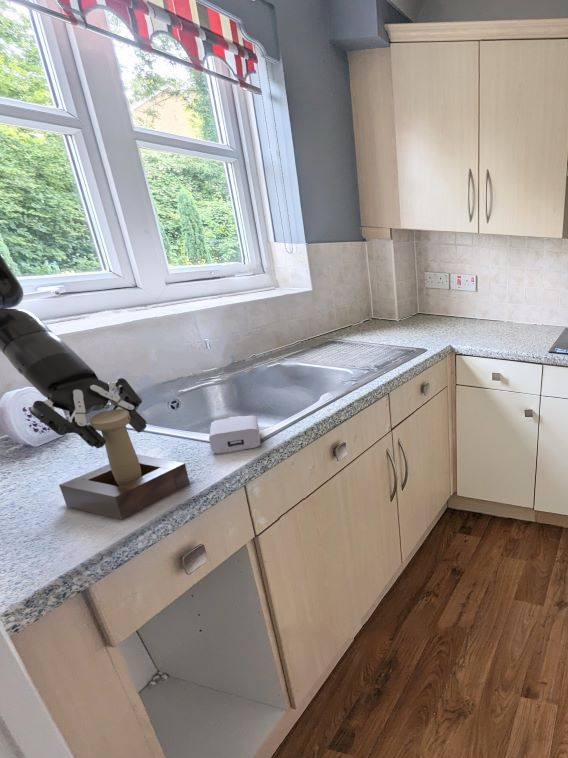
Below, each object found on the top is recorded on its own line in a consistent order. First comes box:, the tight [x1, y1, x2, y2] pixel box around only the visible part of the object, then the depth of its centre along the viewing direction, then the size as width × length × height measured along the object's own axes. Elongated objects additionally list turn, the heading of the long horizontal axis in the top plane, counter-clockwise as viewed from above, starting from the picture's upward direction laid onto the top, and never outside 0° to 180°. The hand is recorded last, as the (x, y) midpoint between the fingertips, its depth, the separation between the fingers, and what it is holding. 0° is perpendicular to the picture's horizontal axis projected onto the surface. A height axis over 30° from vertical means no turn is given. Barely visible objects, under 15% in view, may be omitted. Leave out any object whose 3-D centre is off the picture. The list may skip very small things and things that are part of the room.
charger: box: [208, 415, 261, 454], centre depth 107 cm, size 5×9×15 cm
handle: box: [89, 409, 142, 487], centre depth 81 cm, size 5×6×15 cm
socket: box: [58, 453, 191, 521], centre depth 83 cm, size 12×12×4 cm
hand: (123, 436), depth 79 cm, fingers closed on handle, 6 cm apart
